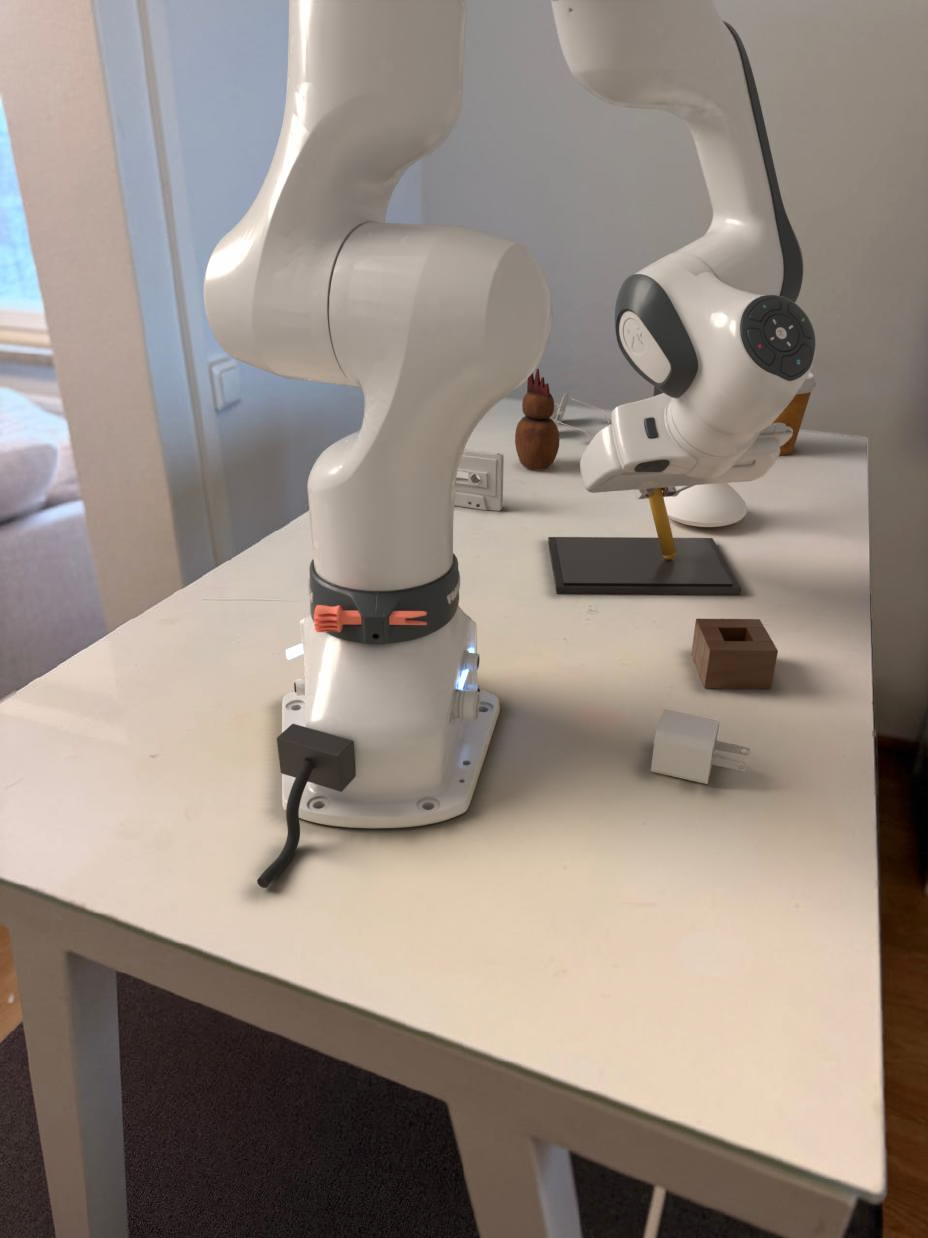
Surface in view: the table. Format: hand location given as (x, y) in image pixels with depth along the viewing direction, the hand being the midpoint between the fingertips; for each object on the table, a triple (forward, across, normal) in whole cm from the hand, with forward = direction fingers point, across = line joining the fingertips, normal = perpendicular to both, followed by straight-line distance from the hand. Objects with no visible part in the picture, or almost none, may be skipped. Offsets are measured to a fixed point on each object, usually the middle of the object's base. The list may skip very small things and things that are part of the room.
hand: (654, 491), depth 101 cm
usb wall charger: (-20, +11, +33) cm, 40 cm away
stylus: (+5, -2, +6) cm, 8 cm away
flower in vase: (+16, -12, -3) cm, 20 cm away
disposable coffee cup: (+33, -36, -20) cm, 53 cm away
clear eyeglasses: (+44, -9, -32) cm, 55 cm away
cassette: (+23, +17, -10) cm, 31 cm away
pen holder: (-10, +1, +23) cm, 25 cm away
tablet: (+6, +1, +6) cm, 9 cm away
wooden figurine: (+33, +3, -20) cm, 38 cm away
